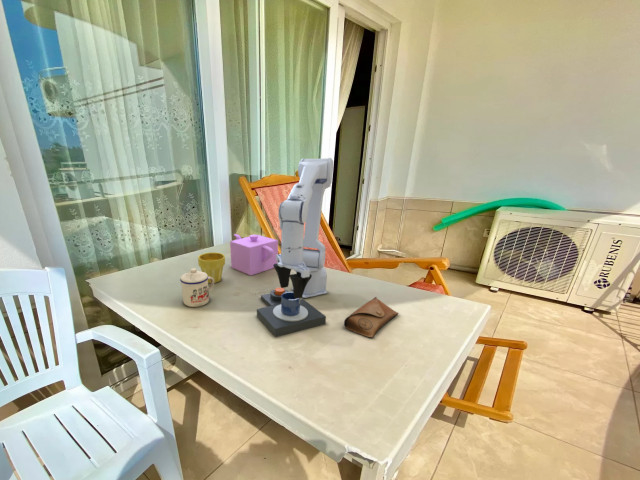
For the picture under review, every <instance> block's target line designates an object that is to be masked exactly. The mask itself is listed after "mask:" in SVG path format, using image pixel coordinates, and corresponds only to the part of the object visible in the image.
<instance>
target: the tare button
mask: <svg viewBox="0 0 640 480" xmlns="http://www.w3.org/2000/svg"><path fill="white" fill-rule="evenodd" d="M274 290H275V295H282V294H283V293H285V290H286V289H285V288H281V287H276V288H275V289H274Z"/></svg>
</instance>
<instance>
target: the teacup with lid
mask: <svg viewBox="0 0 640 480" xmlns="http://www.w3.org/2000/svg"><path fill="white" fill-rule="evenodd" d="M208 279H211V283H210V284H209V283H208ZM179 281H180V283H181V284H180V285H181V293H182V301H183V304H184V305H185V306H187V307H190V308H198V307H202V306H204V305H207V304H208V303H209V301H210V291H211V290H212V289H213V288H214V286H215V283H214V279H213V278H212V277H208V275H207V274H206V273H204V272H202V271H200V270H197V268H195V267H194V268H193V267H192V268H191V269H190V271H188V272H186V273H183V274H182V275H180V279H179Z"/></svg>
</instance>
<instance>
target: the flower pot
mask: <svg viewBox="0 0 640 480" xmlns="http://www.w3.org/2000/svg"><path fill="white" fill-rule="evenodd" d="M197 262H198V267H199V268H200V270H201V271H200V272H204V273H206V274H207V275H208V277H212V278H213V279H214V284H216V283H219V282H221V281H222V276H223V270H224V266H225V265H226V255H225V254H224V253H221V252H213V251H211V252H204V253H201V254H199V255H198V256H197ZM208 284H211V279H208Z"/></svg>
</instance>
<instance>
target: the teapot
mask: <svg viewBox="0 0 640 480" xmlns="http://www.w3.org/2000/svg"><path fill="white" fill-rule="evenodd" d="M233 236H234V237H235V238H236V239H233V240H230V241H229V244H230V245H229V246H230V265H231V268H232V269H234V270H236V271H239V272H242V273H244V274H246V275H248V276H253V275H256V274H259V273H263V272H265V271H268V270H271V269H275V268H274V266H273V265H274V264H276V263H278V261H276V255H277V254H279V241H278V239H276V238H275V239H274V238H270V237H267V236H265V235H264V236H263V235H260V234H250V235H249V236H245V237H241V235H239V234H237V233H234V234H233Z"/></svg>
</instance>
